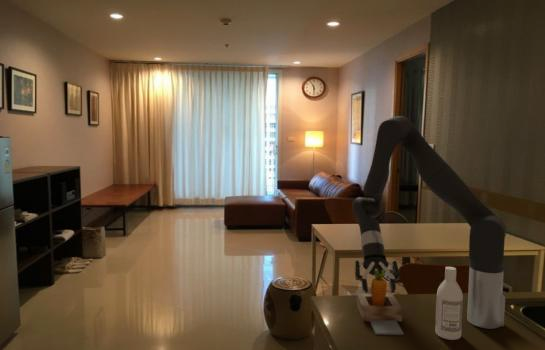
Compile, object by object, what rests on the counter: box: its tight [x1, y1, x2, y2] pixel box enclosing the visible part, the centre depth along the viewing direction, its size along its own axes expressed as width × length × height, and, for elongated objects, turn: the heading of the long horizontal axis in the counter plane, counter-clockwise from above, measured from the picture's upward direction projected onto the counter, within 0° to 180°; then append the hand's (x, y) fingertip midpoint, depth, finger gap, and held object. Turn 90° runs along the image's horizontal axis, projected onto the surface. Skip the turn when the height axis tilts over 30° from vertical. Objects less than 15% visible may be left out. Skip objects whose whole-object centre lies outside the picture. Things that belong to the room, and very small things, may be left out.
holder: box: [356, 293, 403, 323], centre depth 133 cm, size 12×12×4 cm
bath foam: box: [434, 266, 464, 341], centre depth 117 cm, size 7×7×20 cm
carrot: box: [370, 269, 387, 306], centre depth 132 cm, size 5×5×15 cm
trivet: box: [369, 320, 404, 336], centre depth 123 cm, size 8×8×1 cm
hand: (379, 291), depth 131 cm, fingers open, 8 cm apart
